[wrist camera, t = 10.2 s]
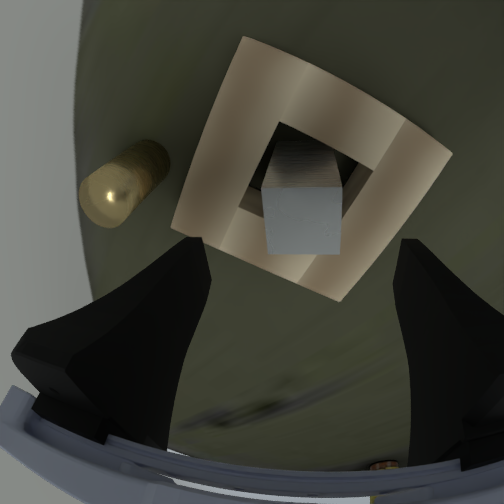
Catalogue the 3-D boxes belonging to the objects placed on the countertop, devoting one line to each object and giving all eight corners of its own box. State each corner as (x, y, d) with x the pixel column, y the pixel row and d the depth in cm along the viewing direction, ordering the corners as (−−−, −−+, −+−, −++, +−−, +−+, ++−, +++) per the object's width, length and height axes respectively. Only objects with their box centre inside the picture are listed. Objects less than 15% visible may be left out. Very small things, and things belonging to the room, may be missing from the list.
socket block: (433, 138, 16) (452, 153, 13) (337, 273, 23) (339, 302, 20) (253, 39, 14) (243, 36, 12) (186, 205, 21) (170, 227, 19)
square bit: (330, 140, 17) (342, 187, 12) (331, 189, 19) (339, 254, 13) (276, 141, 18) (260, 188, 12) (280, 189, 20) (267, 254, 14)
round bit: (176, 149, 19) (131, 188, 14) (163, 189, 21) (122, 236, 16) (134, 133, 19) (81, 166, 14) (125, 173, 21) (77, 214, 16)
